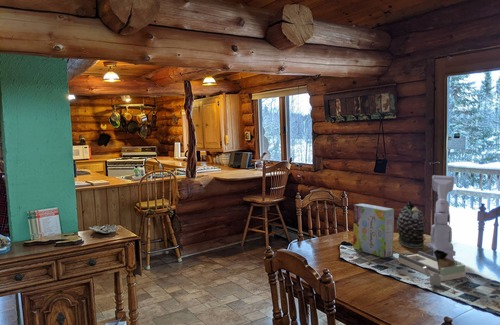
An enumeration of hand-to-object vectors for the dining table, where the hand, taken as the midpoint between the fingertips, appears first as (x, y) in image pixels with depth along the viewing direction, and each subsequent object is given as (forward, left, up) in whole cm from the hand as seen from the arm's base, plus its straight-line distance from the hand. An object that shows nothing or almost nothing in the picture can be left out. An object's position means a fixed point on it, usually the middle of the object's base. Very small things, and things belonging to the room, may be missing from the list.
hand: (440, 266), depth 187 cm
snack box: (+9, -38, -4) cm, 40 cm away
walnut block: (0, +4, -1) cm, 4 cm away
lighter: (+14, +9, -4) cm, 17 cm away
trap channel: (0, -6, -3) cm, 7 cm away
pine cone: (-20, -41, -4) cm, 46 cm away
